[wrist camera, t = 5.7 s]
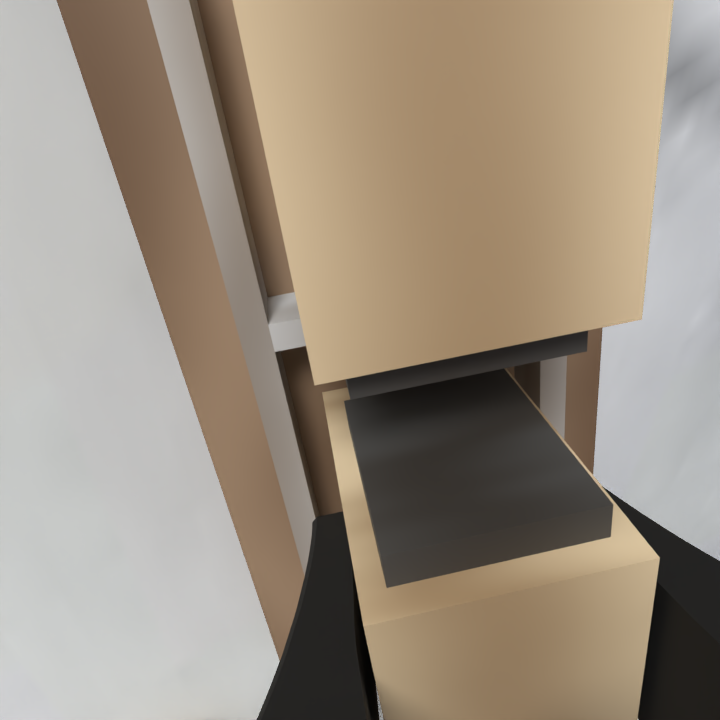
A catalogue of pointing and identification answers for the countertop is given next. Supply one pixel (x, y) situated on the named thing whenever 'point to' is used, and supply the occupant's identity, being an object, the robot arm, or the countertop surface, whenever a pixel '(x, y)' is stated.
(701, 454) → the countertop surface
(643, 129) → the rail board
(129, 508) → the countertop surface
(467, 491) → the block
